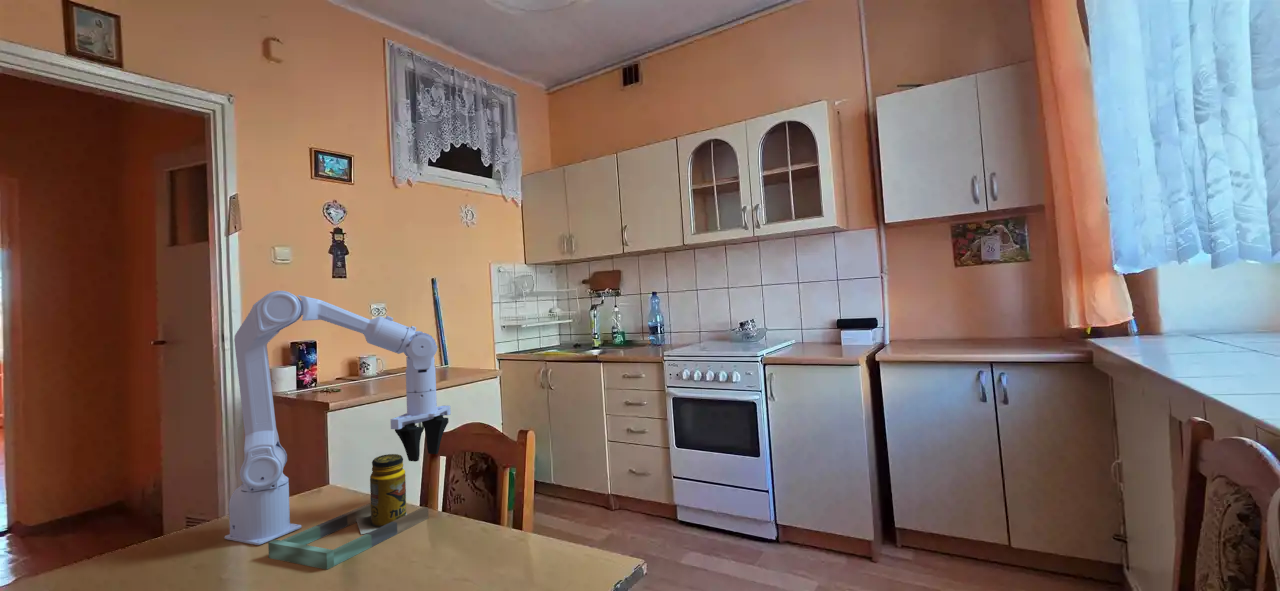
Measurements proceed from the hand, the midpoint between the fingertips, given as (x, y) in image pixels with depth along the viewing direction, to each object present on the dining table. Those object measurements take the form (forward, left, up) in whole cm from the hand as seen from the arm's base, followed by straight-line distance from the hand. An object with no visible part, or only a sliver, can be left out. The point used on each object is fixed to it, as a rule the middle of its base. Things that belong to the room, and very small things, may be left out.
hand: (423, 457), depth 113 cm
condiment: (0, -11, -9) cm, 14 cm away
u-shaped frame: (0, -16, -9) cm, 19 cm away
